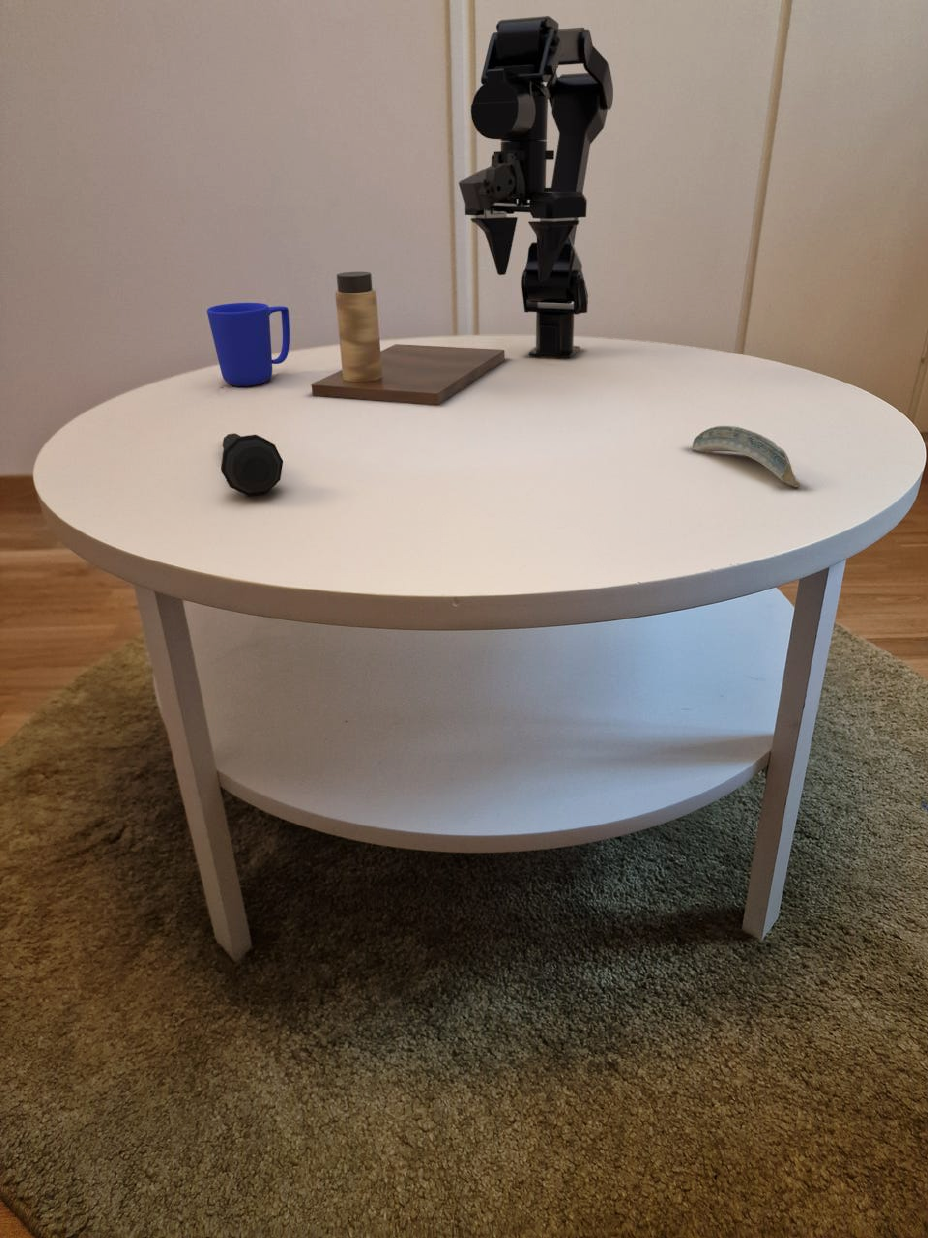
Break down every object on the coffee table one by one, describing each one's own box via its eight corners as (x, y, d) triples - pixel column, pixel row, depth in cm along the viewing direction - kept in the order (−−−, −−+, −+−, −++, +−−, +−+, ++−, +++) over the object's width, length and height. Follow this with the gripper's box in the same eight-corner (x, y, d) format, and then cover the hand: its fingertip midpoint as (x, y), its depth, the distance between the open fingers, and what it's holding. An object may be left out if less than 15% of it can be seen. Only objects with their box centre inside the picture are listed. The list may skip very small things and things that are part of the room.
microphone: (219, 472, 95) (244, 512, 78) (193, 425, 93) (213, 455, 75) (262, 450, 96) (298, 485, 79) (238, 403, 94) (269, 428, 76)
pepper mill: (384, 372, 116) (376, 270, 110) (379, 381, 112) (371, 275, 105) (346, 373, 116) (337, 271, 110) (340, 382, 112) (330, 277, 106)
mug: (311, 375, 122) (303, 301, 118) (240, 392, 115) (228, 314, 110) (277, 367, 127) (268, 296, 123) (207, 383, 120) (194, 308, 115)
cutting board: (396, 353, 133) (395, 343, 133) (504, 359, 128) (504, 349, 127) (312, 395, 112) (311, 384, 112) (438, 405, 107) (437, 393, 106)
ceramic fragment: (690, 448, 89) (694, 412, 87) (730, 441, 91) (735, 405, 89) (781, 493, 78) (788, 453, 76) (826, 484, 79) (834, 444, 77)
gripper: (428, 144, 108) (432, 276, 115) (515, 138, 94) (513, 288, 101) (500, 144, 113) (500, 270, 120) (592, 138, 99) (586, 281, 106)
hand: (521, 277), depth 112 cm, fingers open, 9 cm apart
